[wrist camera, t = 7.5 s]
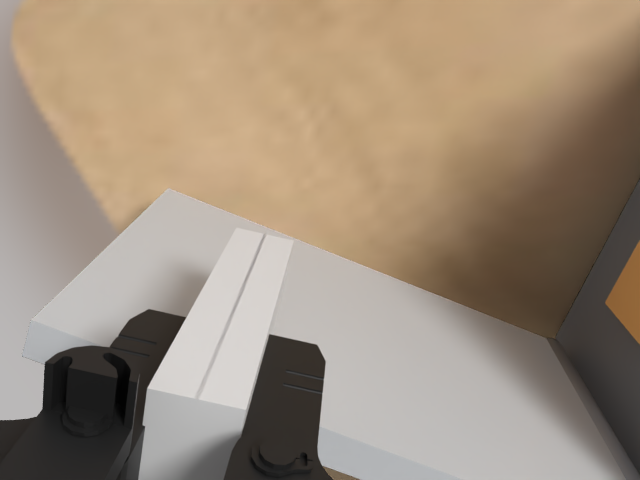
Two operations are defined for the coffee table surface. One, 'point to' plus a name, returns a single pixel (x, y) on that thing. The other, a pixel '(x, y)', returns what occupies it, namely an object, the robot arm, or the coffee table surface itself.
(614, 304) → the panel
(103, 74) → the coffee table surface
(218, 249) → the door
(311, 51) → the coffee table surface
